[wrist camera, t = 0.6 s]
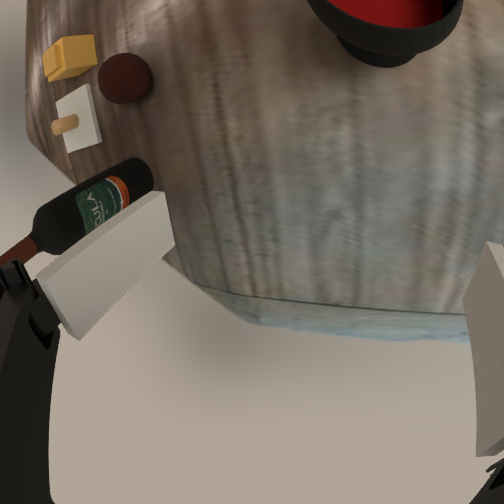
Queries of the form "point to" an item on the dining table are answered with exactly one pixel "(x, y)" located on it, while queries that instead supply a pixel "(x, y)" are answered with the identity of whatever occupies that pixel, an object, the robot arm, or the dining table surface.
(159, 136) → the dining table surface
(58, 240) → the wine bottle
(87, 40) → the orange block
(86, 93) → the post plate
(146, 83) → the potato
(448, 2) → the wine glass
